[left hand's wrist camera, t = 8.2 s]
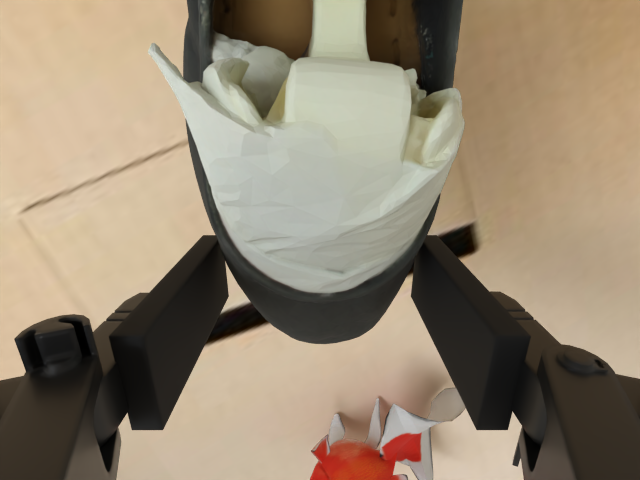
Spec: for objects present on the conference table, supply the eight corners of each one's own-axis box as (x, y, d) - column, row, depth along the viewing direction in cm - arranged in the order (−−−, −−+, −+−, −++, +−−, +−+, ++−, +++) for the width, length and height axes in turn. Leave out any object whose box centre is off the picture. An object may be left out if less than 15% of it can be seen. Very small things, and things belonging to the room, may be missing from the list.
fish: (261, 416, 27) (325, 570, 20) (419, 320, 31) (518, 415, 24) (288, 467, 33) (343, 595, 26) (415, 381, 38) (491, 470, 31)
